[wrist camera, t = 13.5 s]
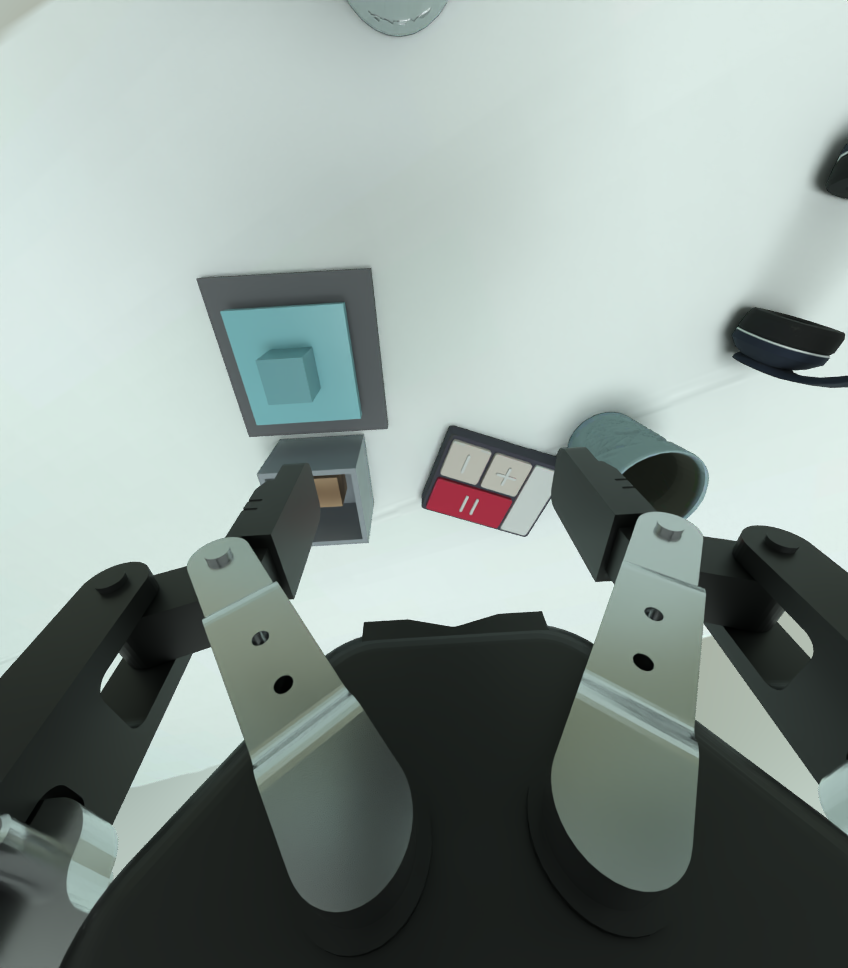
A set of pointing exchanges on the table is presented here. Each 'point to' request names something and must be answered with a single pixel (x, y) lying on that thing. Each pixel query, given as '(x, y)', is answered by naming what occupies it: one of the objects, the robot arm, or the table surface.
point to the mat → (303, 291)
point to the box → (332, 460)
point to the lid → (295, 362)
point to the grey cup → (646, 462)
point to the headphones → (792, 327)
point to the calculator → (489, 482)
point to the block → (331, 489)
